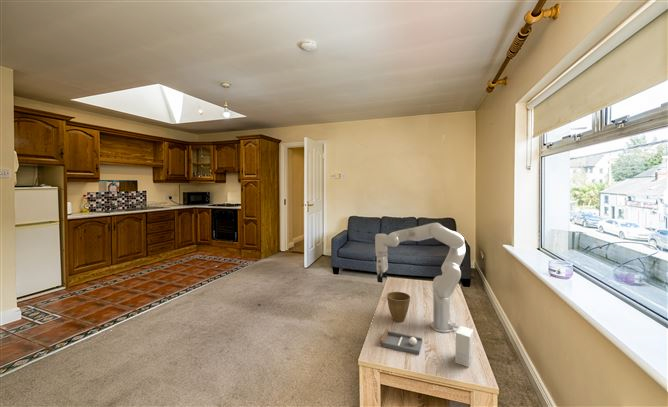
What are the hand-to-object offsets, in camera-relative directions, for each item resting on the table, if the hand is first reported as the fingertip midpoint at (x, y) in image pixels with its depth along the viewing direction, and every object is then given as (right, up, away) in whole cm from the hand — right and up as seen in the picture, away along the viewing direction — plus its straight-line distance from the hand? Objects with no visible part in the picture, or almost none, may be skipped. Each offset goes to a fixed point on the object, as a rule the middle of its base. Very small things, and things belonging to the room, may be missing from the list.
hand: (382, 279), depth 172 cm
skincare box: (+33, -29, -39) cm, 59 cm away
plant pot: (+11, -27, +4) cm, 30 cm away
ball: (+12, -26, -26) cm, 39 cm away
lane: (+7, -29, -24) cm, 38 cm away
